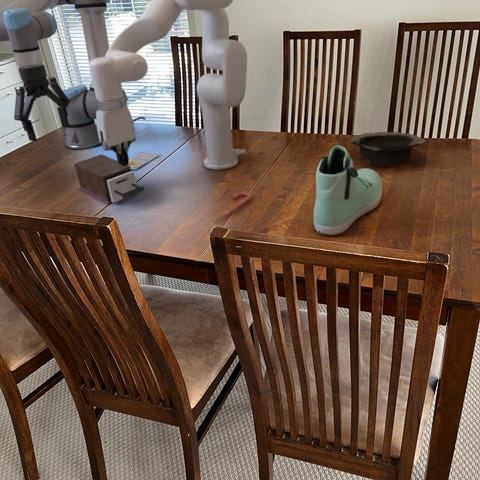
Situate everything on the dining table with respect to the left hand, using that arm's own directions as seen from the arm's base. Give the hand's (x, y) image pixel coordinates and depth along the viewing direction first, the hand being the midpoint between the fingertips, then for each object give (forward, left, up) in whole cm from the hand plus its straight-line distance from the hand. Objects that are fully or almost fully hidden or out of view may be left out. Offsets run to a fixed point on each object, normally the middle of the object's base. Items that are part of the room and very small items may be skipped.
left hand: (50, 133), depth 156 cm
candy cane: (-34, +53, -20) cm, 66 cm away
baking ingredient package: (-30, -3, -20) cm, 35 cm away
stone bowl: (-93, +62, -20) cm, 113 cm away
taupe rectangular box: (-10, +13, -20) cm, 26 cm away
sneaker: (-56, +78, -20) cm, 98 cm away
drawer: (-10, +19, -19) cm, 29 cm away
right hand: (-12, +28, -6) cm, 31 cm away
